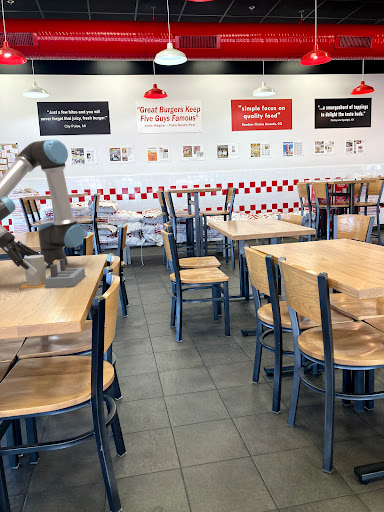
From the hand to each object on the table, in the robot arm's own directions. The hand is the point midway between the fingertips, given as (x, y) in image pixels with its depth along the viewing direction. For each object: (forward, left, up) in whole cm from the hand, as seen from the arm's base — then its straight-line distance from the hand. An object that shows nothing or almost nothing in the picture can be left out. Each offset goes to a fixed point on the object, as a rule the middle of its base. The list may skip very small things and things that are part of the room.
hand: (40, 270), depth 186 cm
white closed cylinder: (0, -2, -6) cm, 7 cm away
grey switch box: (-3, +10, -6) cm, 12 cm away
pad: (0, -2, -6) cm, 7 cm away
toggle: (-3, +6, -2) cm, 7 cm away
